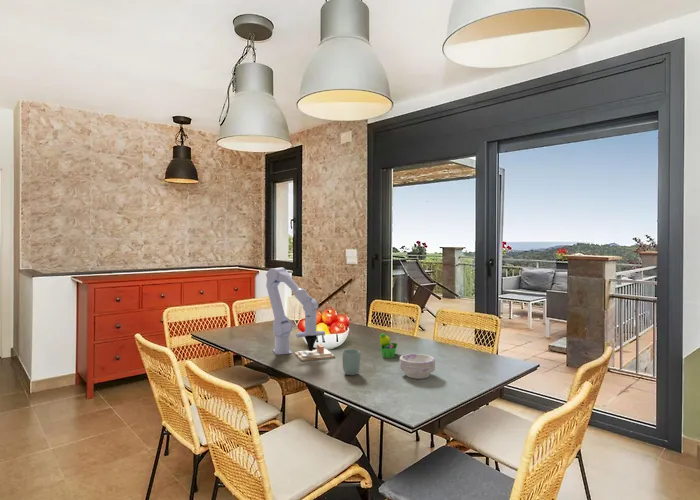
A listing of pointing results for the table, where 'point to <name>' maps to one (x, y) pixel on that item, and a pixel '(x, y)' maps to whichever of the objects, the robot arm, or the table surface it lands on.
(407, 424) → the table surface
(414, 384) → the table surface
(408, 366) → the pale mottled bowl
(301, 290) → the robot arm
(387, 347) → the fruit basket
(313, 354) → the board
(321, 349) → the pinkish brown block
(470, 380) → the table surface
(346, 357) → the cup
